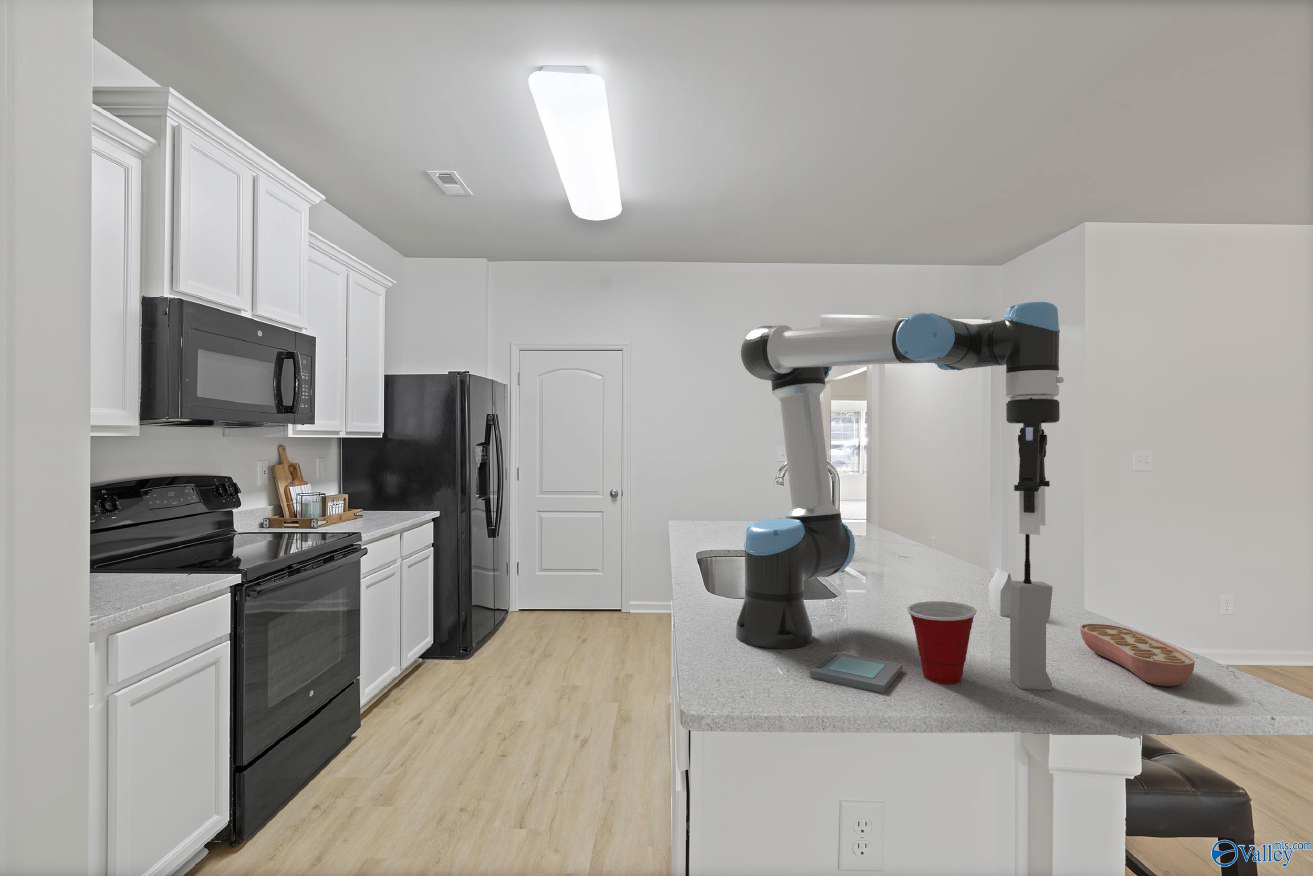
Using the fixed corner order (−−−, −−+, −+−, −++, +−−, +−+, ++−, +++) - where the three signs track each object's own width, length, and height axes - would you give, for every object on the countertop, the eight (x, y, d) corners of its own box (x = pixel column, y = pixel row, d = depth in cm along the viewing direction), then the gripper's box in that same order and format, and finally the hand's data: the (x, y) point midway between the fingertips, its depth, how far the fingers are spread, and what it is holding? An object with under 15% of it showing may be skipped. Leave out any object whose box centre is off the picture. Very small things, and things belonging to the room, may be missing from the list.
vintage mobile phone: (1052, 691, 104) (1053, 534, 104) (1019, 689, 104) (1019, 533, 104) (1042, 682, 107) (1042, 531, 107) (1009, 681, 108) (1010, 530, 108)
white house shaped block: (1000, 617, 147) (1000, 573, 147) (988, 610, 154) (988, 567, 154) (1017, 618, 147) (1017, 574, 147) (1005, 610, 153) (1005, 568, 154)
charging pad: (810, 677, 109) (810, 669, 109) (833, 658, 119) (833, 650, 119) (883, 693, 102) (883, 685, 102) (902, 671, 112) (902, 663, 112)
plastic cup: (897, 666, 115) (897, 598, 115) (959, 667, 114) (959, 599, 114) (919, 690, 104) (919, 614, 104) (988, 691, 103) (988, 616, 103)
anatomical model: (1070, 648, 126) (1070, 622, 126) (1124, 650, 125) (1124, 624, 125) (1147, 694, 103) (1147, 662, 103) (1214, 697, 102) (1214, 665, 102)
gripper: (1055, 392, 93) (1056, 540, 93) (1062, 402, 114) (1063, 523, 114) (997, 394, 98) (997, 536, 97) (1013, 403, 118) (1014, 520, 118)
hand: (1033, 529), depth 106 cm, fingers open, 13 cm apart
